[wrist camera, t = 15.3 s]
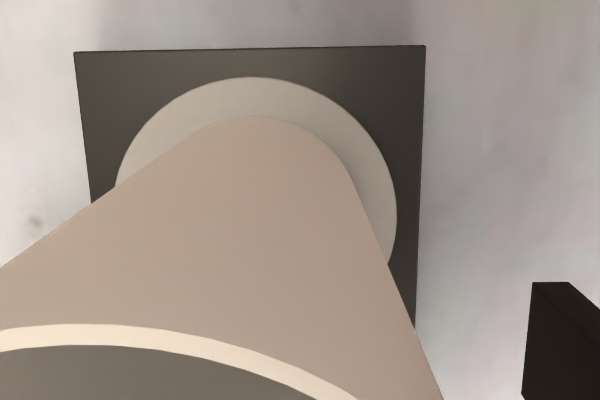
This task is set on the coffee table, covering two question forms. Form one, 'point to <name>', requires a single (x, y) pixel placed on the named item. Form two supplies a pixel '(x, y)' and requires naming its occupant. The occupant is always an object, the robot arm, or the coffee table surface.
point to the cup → (214, 284)
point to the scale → (277, 104)
